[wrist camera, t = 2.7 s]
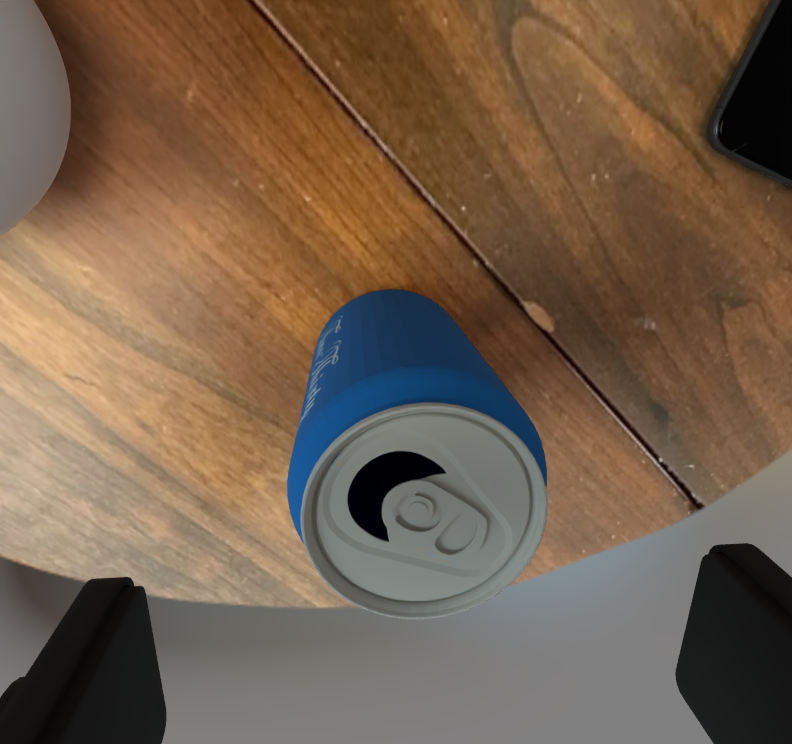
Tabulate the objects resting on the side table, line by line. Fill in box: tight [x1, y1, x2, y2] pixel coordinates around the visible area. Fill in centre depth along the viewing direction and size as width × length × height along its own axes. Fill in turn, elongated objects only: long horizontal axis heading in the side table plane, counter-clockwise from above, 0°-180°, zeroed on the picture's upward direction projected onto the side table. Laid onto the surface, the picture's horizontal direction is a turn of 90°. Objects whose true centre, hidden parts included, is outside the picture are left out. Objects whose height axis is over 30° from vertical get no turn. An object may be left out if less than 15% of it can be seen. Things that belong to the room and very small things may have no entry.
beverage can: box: [287, 290, 547, 619], centre depth 18 cm, size 6×6×12 cm
